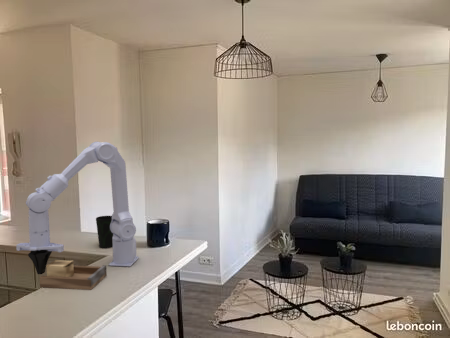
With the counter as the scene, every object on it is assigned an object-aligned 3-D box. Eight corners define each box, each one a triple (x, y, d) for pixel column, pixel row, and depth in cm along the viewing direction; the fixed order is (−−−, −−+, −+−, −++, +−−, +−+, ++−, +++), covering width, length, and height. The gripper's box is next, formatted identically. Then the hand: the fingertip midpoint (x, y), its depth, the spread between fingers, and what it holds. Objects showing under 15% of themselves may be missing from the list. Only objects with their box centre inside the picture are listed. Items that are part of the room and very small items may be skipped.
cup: (94, 245, 153) (93, 217, 152) (112, 242, 158) (111, 214, 157) (100, 250, 147) (99, 220, 146) (119, 247, 152) (118, 218, 151)
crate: (56, 273, 119) (55, 259, 119) (74, 274, 119) (73, 260, 118) (46, 279, 114) (46, 265, 114) (65, 280, 114) (65, 266, 113)
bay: (59, 273, 123) (59, 263, 122) (106, 275, 121) (106, 265, 121) (40, 287, 112) (39, 276, 111) (91, 289, 110) (90, 278, 110)
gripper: (8, 233, 113) (11, 276, 114) (54, 235, 111) (56, 278, 113) (23, 227, 120) (25, 268, 121) (66, 229, 118) (68, 270, 119)
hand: (41, 273), depth 117 cm, fingers closed
